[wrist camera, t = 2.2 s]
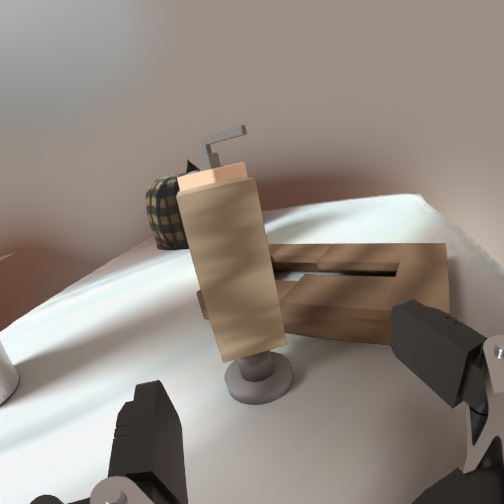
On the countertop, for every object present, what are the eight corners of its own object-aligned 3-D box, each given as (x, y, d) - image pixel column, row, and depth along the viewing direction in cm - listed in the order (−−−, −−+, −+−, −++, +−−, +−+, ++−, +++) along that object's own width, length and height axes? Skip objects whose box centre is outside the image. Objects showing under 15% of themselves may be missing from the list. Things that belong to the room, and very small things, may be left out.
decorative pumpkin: (278, 214, 85) (264, 143, 79) (220, 251, 61) (197, 152, 55) (197, 221, 100) (183, 162, 94) (131, 253, 76) (111, 180, 70)
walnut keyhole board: (204, 318, 35) (196, 292, 34) (270, 265, 47) (266, 244, 46) (444, 348, 20) (450, 312, 19) (444, 269, 33) (445, 243, 32)
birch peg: (234, 412, 20) (168, 199, 15) (224, 371, 25) (172, 192, 20) (301, 391, 21) (263, 176, 16) (281, 355, 26) (245, 175, 21)
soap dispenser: (198, 265, 55) (169, 145, 48) (227, 248, 61) (203, 140, 55) (255, 269, 47) (225, 126, 41) (282, 249, 54) (258, 124, 47)
